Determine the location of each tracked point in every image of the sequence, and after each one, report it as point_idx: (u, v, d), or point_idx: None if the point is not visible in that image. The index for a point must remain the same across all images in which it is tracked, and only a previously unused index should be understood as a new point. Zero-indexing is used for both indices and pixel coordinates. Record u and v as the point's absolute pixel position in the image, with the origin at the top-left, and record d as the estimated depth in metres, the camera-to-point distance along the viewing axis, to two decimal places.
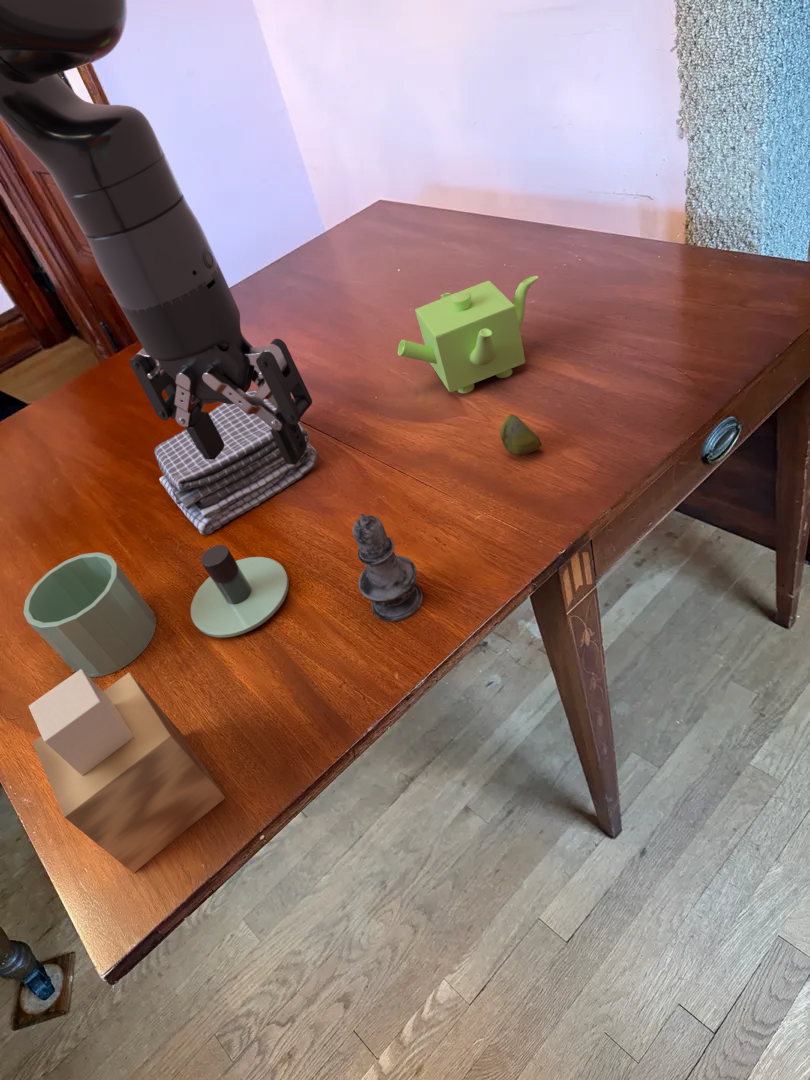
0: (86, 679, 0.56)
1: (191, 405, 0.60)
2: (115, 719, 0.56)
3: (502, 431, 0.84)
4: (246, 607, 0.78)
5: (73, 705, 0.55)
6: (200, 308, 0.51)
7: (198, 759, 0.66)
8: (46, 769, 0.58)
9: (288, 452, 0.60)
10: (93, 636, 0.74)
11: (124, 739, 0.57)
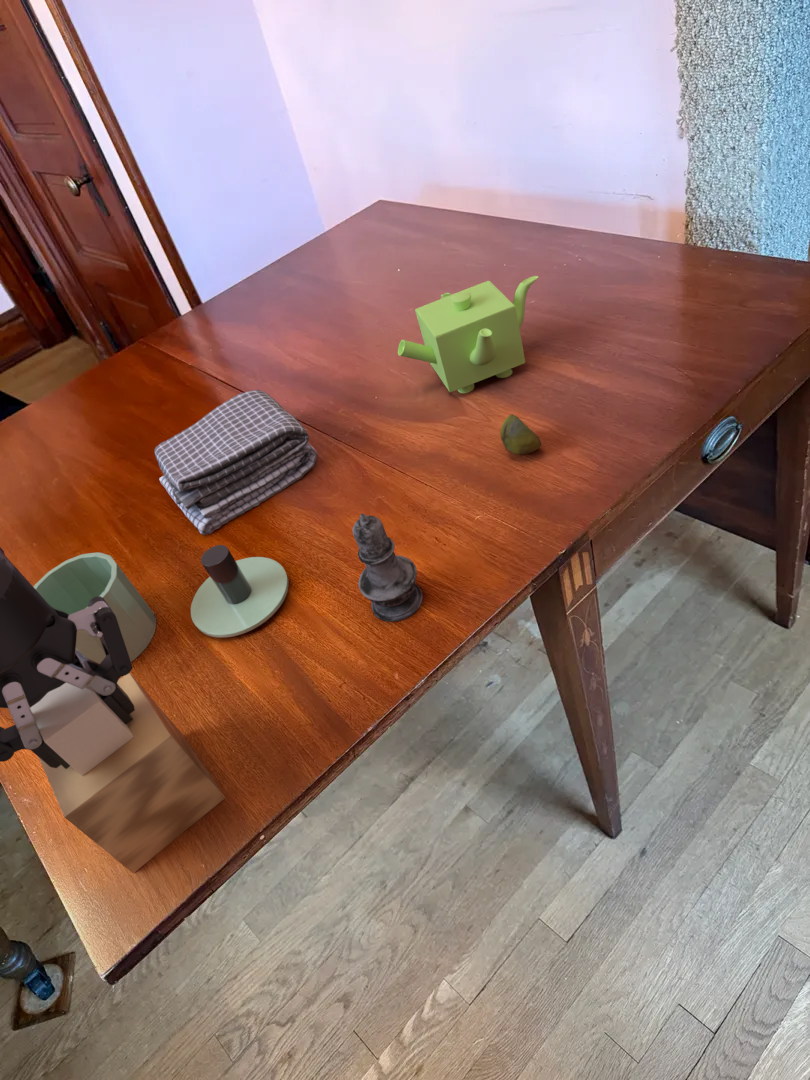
0: None
1: None
2: (115, 719, 0.56)
3: (502, 431, 0.84)
4: (246, 607, 0.78)
5: (73, 705, 0.55)
6: (24, 591, 0.48)
7: (198, 759, 0.66)
8: (46, 769, 0.58)
9: (124, 710, 0.58)
10: None
11: (124, 739, 0.57)
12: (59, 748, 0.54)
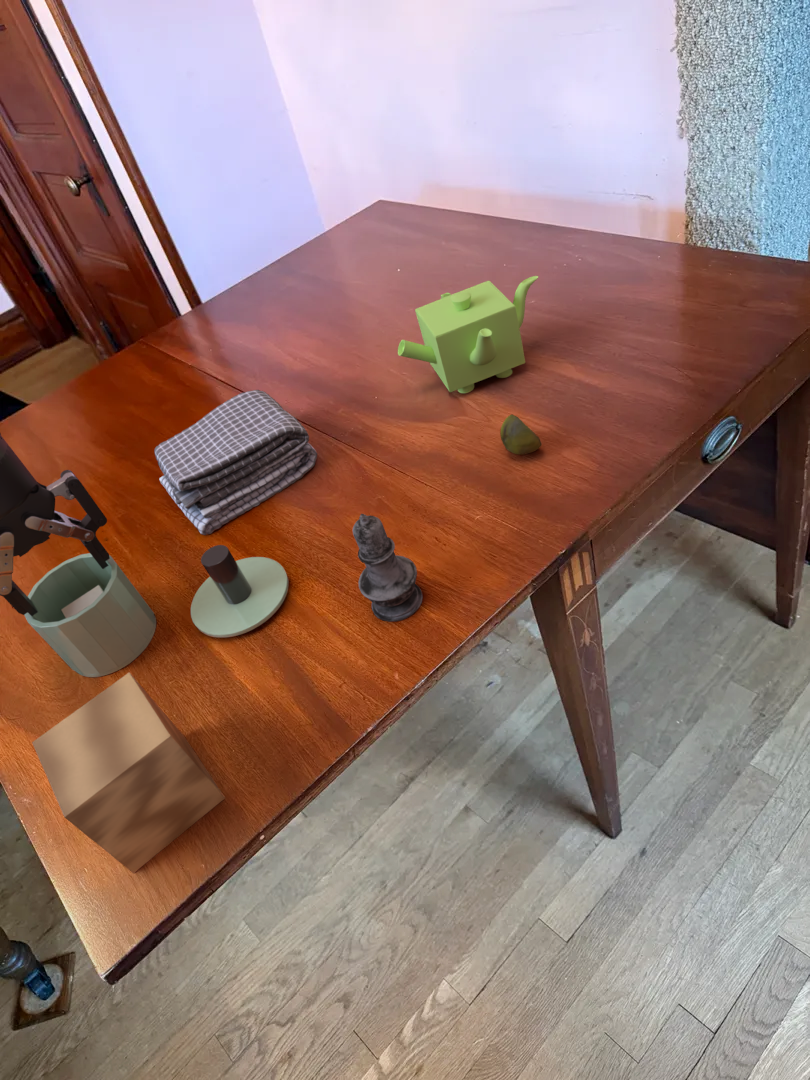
0: (102, 591, 0.79)
1: None
2: None
3: (502, 431, 0.84)
4: (246, 607, 0.78)
5: None
6: (15, 462, 0.66)
7: (198, 759, 0.66)
8: (46, 769, 0.58)
9: (101, 557, 0.76)
10: (93, 636, 0.74)
11: None
12: None
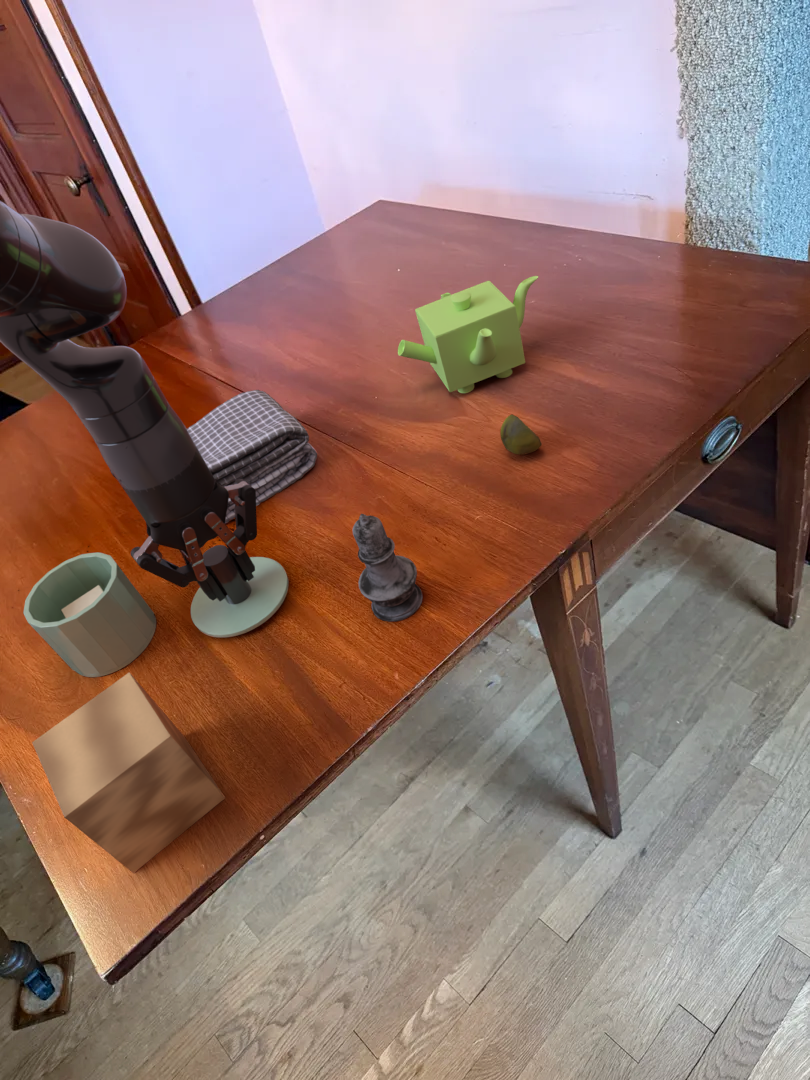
0: (102, 591, 0.79)
1: None
2: None
3: (502, 431, 0.84)
4: (246, 606, 0.78)
5: None
6: (202, 460, 0.69)
7: (198, 759, 0.66)
8: (46, 769, 0.58)
9: (249, 569, 0.78)
10: (93, 636, 0.74)
11: None
12: None
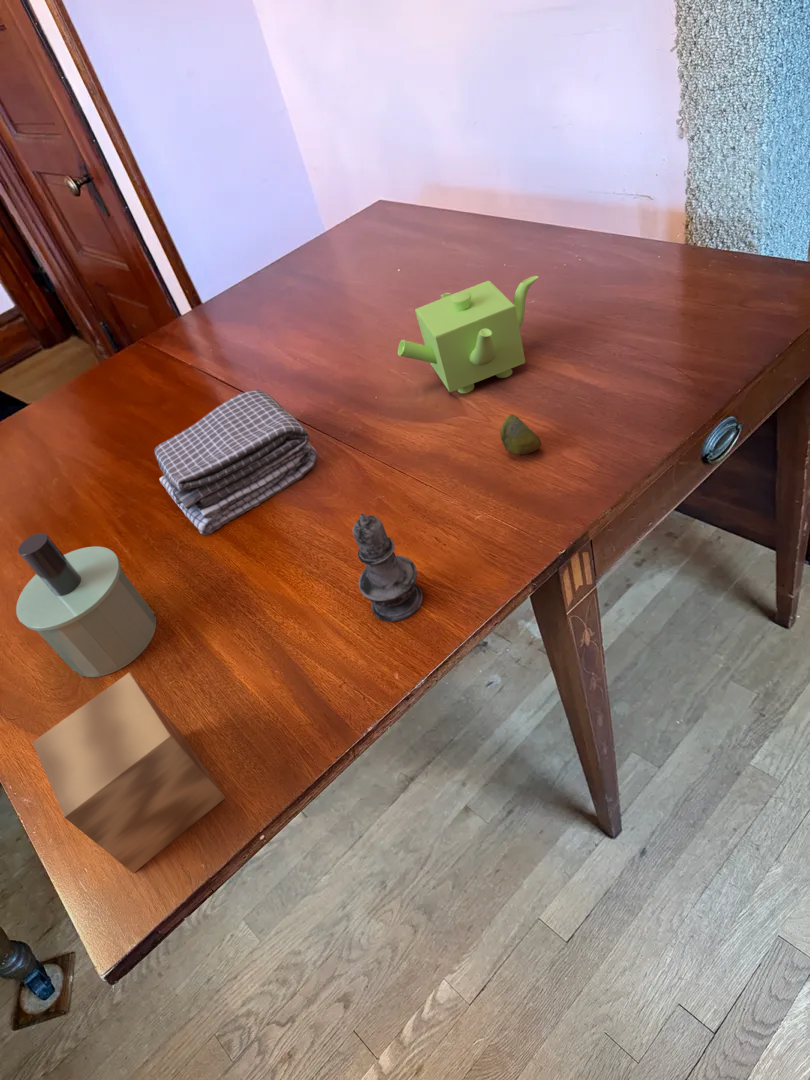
0: None
1: None
2: None
3: (502, 431, 0.84)
4: (71, 598, 0.74)
5: None
6: None
7: (198, 759, 0.66)
8: (46, 769, 0.58)
9: None
10: (93, 636, 0.74)
11: None
12: None
